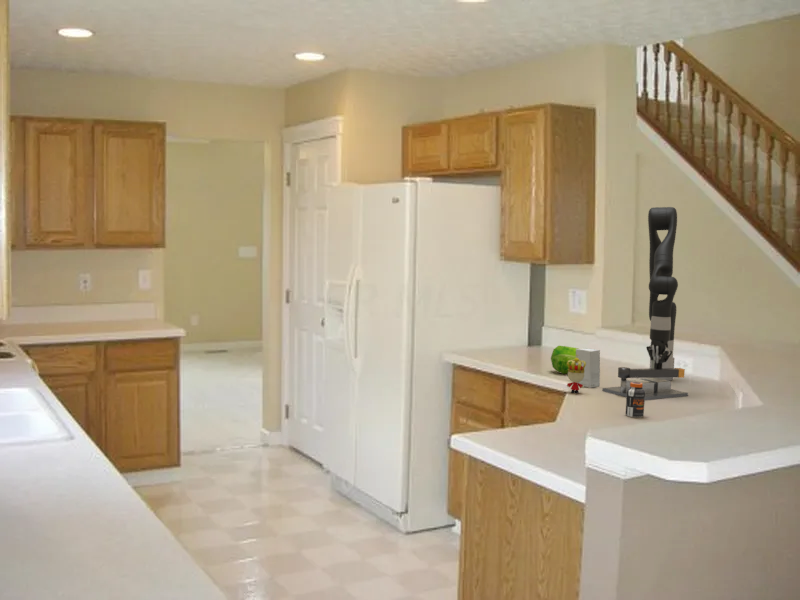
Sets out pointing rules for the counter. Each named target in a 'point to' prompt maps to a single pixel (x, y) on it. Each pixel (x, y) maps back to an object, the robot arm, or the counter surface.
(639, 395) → the pill bottle
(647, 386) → the block
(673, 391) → the tray
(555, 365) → the lettuce
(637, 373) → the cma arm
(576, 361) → the toy
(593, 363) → the skincare box
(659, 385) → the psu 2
